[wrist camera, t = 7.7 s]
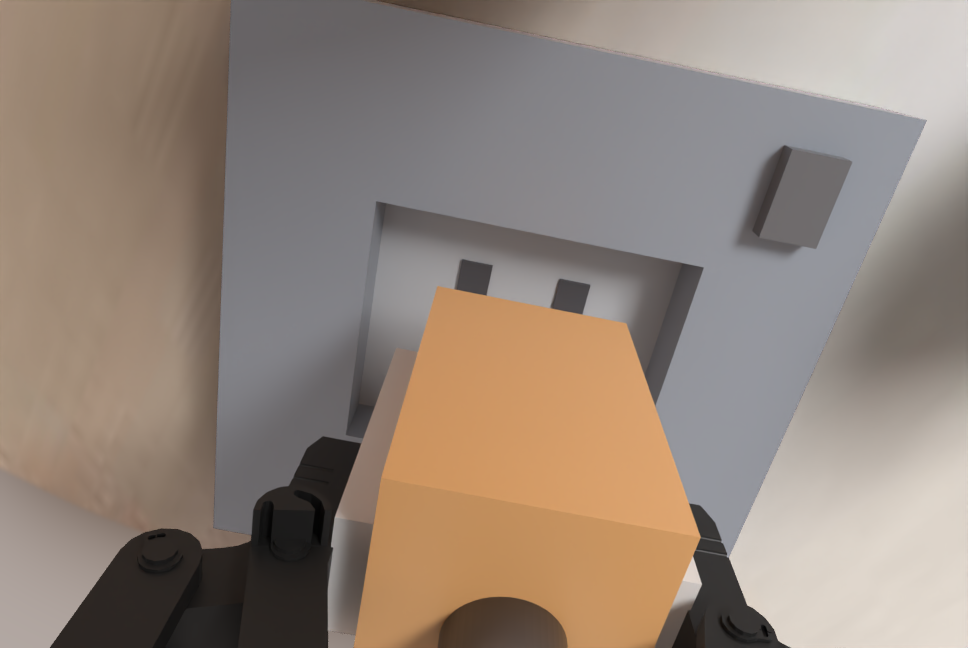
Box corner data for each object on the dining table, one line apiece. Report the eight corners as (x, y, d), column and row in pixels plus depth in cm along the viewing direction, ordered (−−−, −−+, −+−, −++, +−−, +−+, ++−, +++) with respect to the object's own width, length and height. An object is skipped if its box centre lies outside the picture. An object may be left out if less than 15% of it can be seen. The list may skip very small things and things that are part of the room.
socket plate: (266, -23, 19) (222, -29, 16) (880, 107, 20) (939, 124, 17) (239, 484, 27) (206, 539, 24) (686, 566, 27) (705, 630, 25)
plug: (437, 285, 18) (332, 643, 8) (626, 323, 18) (764, 719, 8) (404, 472, 20) (292, 926, 10) (570, 503, 20) (621, 978, 10)
